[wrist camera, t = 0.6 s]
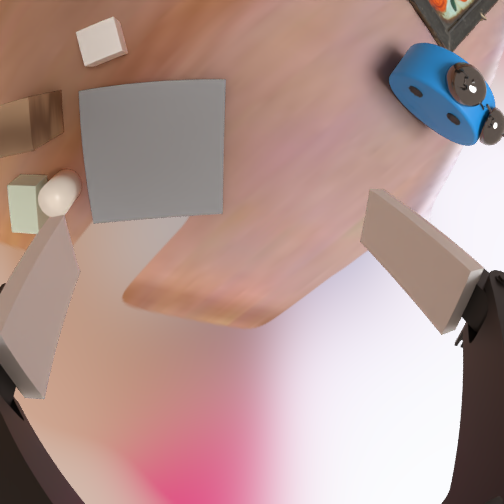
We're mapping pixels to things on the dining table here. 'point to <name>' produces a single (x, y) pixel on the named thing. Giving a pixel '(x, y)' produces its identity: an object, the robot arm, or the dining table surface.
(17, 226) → the sage block
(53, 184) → the cream cylinder
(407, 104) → the alarm clock
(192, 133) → the grey mat
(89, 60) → the white cube
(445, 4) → the painting
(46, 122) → the walnut block
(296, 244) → the dining table surface
